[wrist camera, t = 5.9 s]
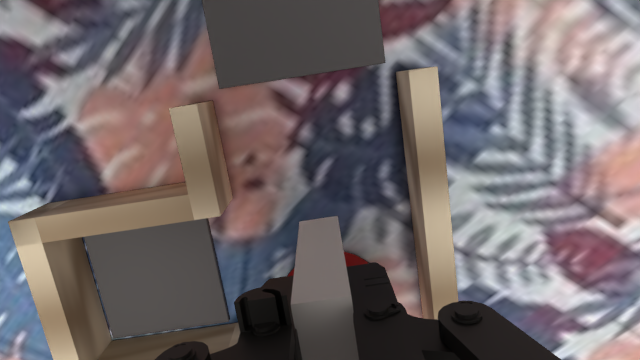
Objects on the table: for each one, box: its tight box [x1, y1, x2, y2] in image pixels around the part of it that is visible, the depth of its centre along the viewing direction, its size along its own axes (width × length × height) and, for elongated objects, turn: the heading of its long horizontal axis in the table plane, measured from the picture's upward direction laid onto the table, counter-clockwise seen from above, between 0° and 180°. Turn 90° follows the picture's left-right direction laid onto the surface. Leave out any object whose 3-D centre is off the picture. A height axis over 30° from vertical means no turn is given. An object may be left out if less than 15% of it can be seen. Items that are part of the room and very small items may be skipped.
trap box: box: [8, 67, 458, 360], centre depth 22 cm, size 21×20×4 cm
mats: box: [84, 0, 385, 338], centre depth 22 cm, size 18×16×1 cm
